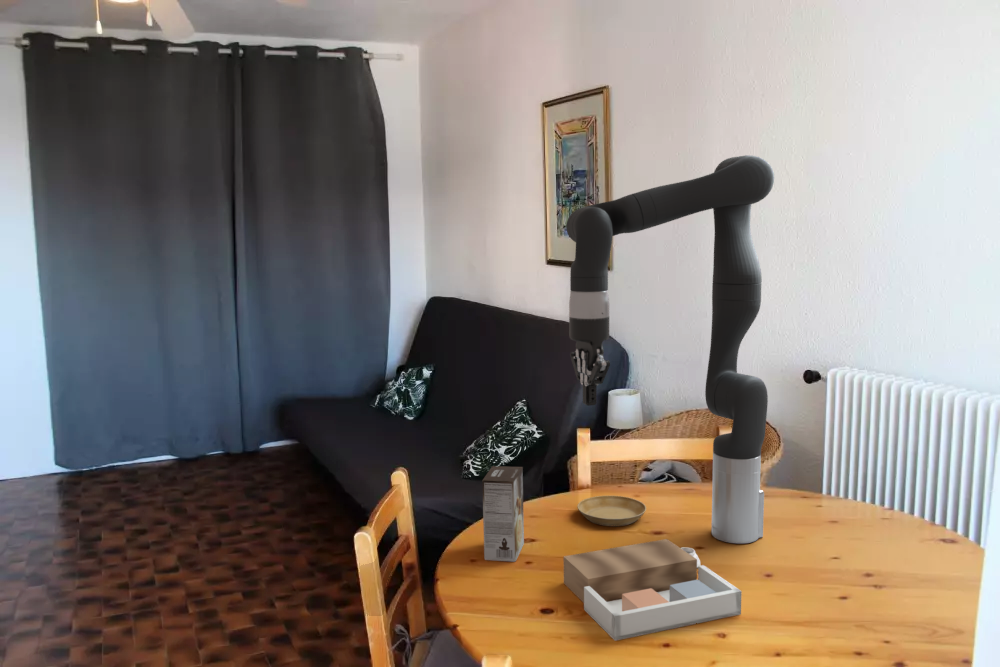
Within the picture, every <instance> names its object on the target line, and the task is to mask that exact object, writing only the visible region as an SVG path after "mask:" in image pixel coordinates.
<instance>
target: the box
mask: <svg viewBox="0 0 1000 667" xmlns="http://www.w3.org/2000/svg"><path fill="white" fill-rule="evenodd" d="M697 569H698V570H697V573H698V574H697V576H698V577H697V580H699V581H701V582H702V583H703V584H705V585H706V586H708V587H709V588H711V589H712V590H714V591H715V592H716V593H713V594H708V595H703V596H698V597H693V598H688V599H683V600H678V601H673V602H669V598H670V590H666V591H661V592H657V593H658V594H659V595H661V596H662V597H663V598H665V599H666V600H667V601H668V602H667V603H662V604H657V605H652V606H647V607H642V608H637V609H632V610H627V611H622V599H619V600H614V601H609V602H606V601H605V600H604V599H603V598H602V597H601V596H600V595H599V594H598V593H597V592H595V591H594V590H593V589H592V588H591V587H590V586H586V587H584V603H583V610H584V611H585V612H586V614H588V615H589V616H590V617H591V618H592V619H593V620H594V621H595V622H596V624H598V625H599V626H600V627H601V629H603V631H605V633H607V634H608V636H609V637H610V638H612V639H613V641H621V640H625V639H630V638H634V637H640V636H643V635H644V636H645V635H649V634H654V633H659V632H662V631H667V630H672V629H677V628H681V627H687V626H692V625H696V623H697V624H701V623H706V622H711V621H716V620H720V619H725V618H730V617H734V616H740V615H742V592H743V591H742V590H741V589H739V588H738V587H736V586H735V585H734V584H732V583H730V582H729V581H727V580H726V579H725V578H723V577H721V576H720V575H719V574H717V573H716V572H714V571H713V570H712V569H710V568H709V567H708V566H706V565H705V564H702V565H701V564H700V566H698V568H697Z"/></svg>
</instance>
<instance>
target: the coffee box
mask: <svg viewBox="0 0 1000 667" xmlns="http://www.w3.org/2000/svg"><path fill="white" fill-rule="evenodd" d="M523 469H524V466H502V465H501V466H496V465H495V466H494V465H493V466H491V467H490V468H489V471H488V472H487V473H486V475H485V476H484V477H483V479H481V480H482V483H481V484H482V515H483V516H482V517H483V554H484V555H483V556H484V557H483V558H484V560H485V561H495V562H496V561H498V562H510V563H511V562H512V563H513V562H514V563H515V562H516V561H517V559H518V557H519V555H520V554H521V551H522V548H523V546H524V544H525V533H524V532H525V528H524V527H525V522H524V521H525V520H524V515H525V514H524V476H523V472H524V470H523Z"/></svg>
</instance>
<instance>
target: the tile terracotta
mask: <svg viewBox="0 0 1000 667" xmlns="http://www.w3.org/2000/svg"><path fill="white" fill-rule="evenodd" d="M667 602H668V601H667V600H666V599H665V598H663V597H662V596H661V595H659V594H658V593H657V592H656V591H654V590H653V589H652V588H650V589H645V590H640V591H635V592H630V593H625V594H622V611H627V610H632V609H637V608H642V607H647V606H652V605H657V604H662V603H667Z"/></svg>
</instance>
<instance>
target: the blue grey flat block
mask: <svg viewBox="0 0 1000 667" xmlns="http://www.w3.org/2000/svg"><path fill="white" fill-rule="evenodd" d="M713 593H716V592H715V591H714V590H712V589H711V588H709V587H708V586H706V585H705V584H703V583H702V582H701V581H699V580H698V579H697V580H693V581H688V582H683V583H678V584H673V585H670V598H669V602H673V601H678V600H683V599H688V598H693V597H698V596H703V595H708V594H713Z"/></svg>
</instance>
